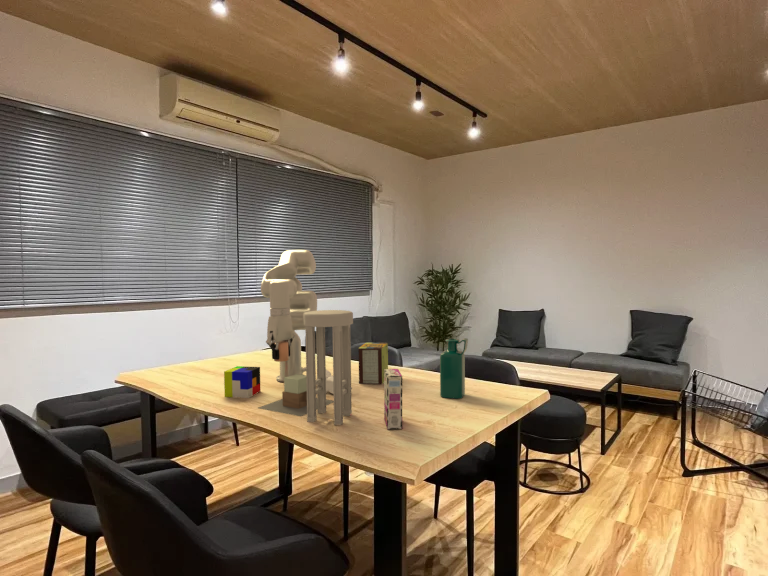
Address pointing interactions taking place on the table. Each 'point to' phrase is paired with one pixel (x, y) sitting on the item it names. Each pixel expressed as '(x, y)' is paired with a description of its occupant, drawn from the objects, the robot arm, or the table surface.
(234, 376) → the puzzle toy
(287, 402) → the tower base
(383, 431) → the table surface
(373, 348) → the protein box
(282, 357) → the peach egg shape
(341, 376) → the stool
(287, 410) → the rubber mat
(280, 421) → the table surface
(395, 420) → the candy bar box
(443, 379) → the pitcher
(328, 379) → the cream shape with stub
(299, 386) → the tower top
